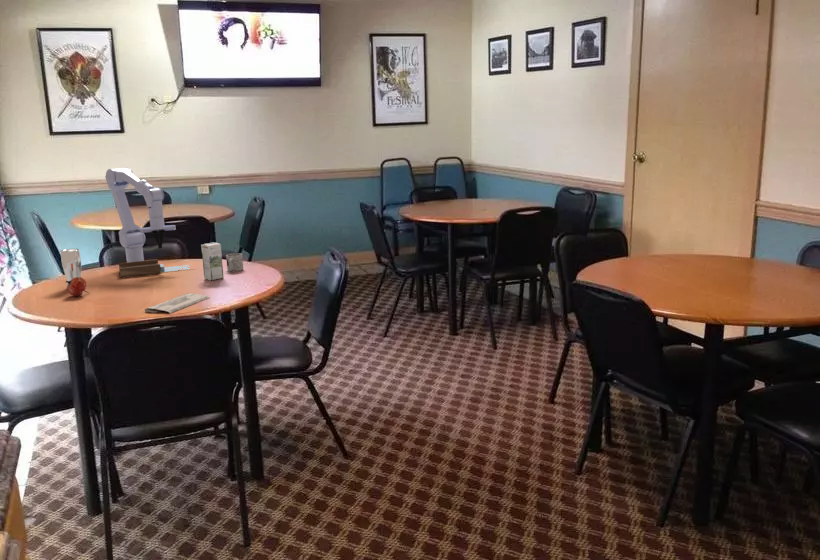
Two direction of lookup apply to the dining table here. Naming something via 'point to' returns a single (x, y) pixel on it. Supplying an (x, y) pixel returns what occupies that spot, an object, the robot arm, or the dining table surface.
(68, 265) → the white tapered container
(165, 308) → the newspaper
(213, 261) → the syrup box
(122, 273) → the case
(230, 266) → the mug
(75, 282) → the pomegranate
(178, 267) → the cover plate
